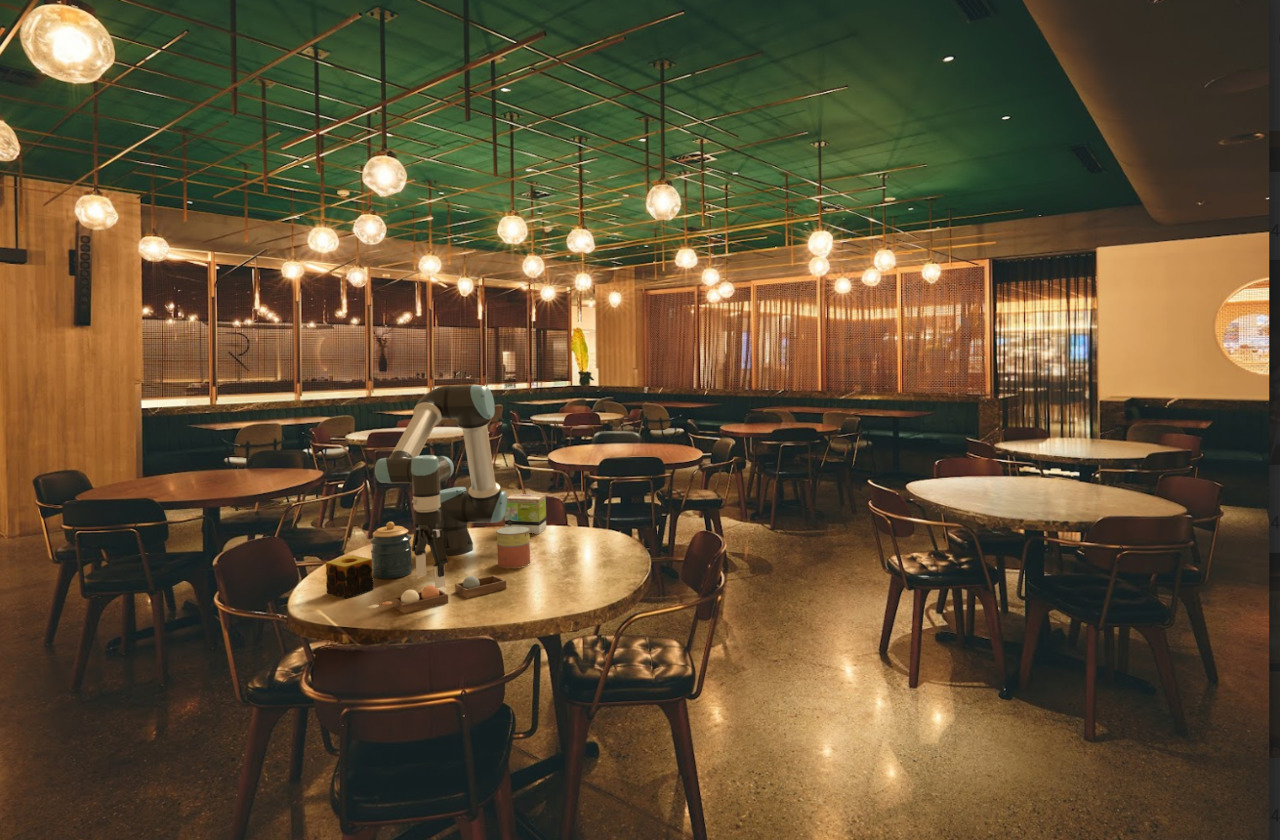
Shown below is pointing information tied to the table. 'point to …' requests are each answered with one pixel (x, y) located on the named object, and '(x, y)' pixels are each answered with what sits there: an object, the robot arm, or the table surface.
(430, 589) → the ball terracotta
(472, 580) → the ball slate
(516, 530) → the canned food
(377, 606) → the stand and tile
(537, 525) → the tea box
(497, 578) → the trough
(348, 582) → the brown block
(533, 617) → the table surface
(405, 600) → the ball cream
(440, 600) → the trough
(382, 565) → the canister
